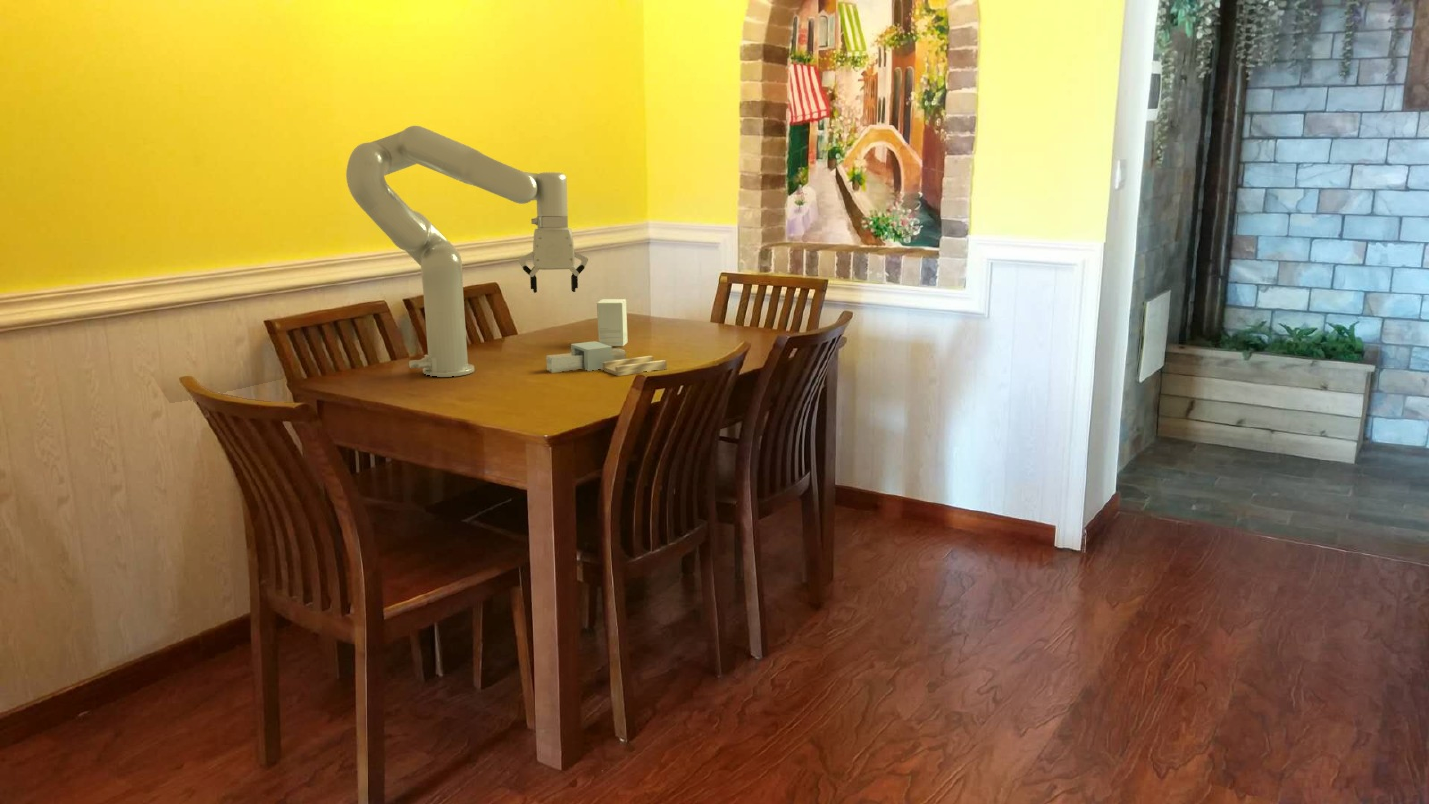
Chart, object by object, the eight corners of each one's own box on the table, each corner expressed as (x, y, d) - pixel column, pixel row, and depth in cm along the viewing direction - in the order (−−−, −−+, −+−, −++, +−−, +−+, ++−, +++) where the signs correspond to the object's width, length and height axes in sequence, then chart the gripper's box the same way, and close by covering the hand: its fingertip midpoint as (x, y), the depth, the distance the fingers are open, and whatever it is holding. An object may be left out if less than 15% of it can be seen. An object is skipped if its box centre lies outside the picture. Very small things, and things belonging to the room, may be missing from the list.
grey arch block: (588, 371, 262) (587, 349, 260) (571, 364, 269) (570, 344, 268) (612, 367, 265) (612, 346, 264) (595, 361, 273) (595, 341, 272)
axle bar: (552, 373, 260) (551, 358, 259) (547, 371, 264) (546, 355, 263) (625, 365, 269) (625, 350, 268) (619, 363, 273) (619, 348, 272)
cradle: (618, 376, 256) (617, 367, 255) (602, 370, 262) (602, 361, 262) (666, 369, 263) (666, 360, 263) (650, 363, 270) (650, 355, 269)
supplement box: (628, 342, 300) (627, 298, 297) (623, 347, 293) (622, 302, 290) (603, 341, 301) (601, 298, 298) (597, 346, 294) (596, 302, 291)
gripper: (518, 224, 253) (520, 294, 257) (589, 224, 257) (590, 293, 261) (516, 222, 260) (518, 290, 264) (585, 221, 264) (586, 289, 268)
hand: (554, 291), depth 262 cm, fingers open, 9 cm apart
